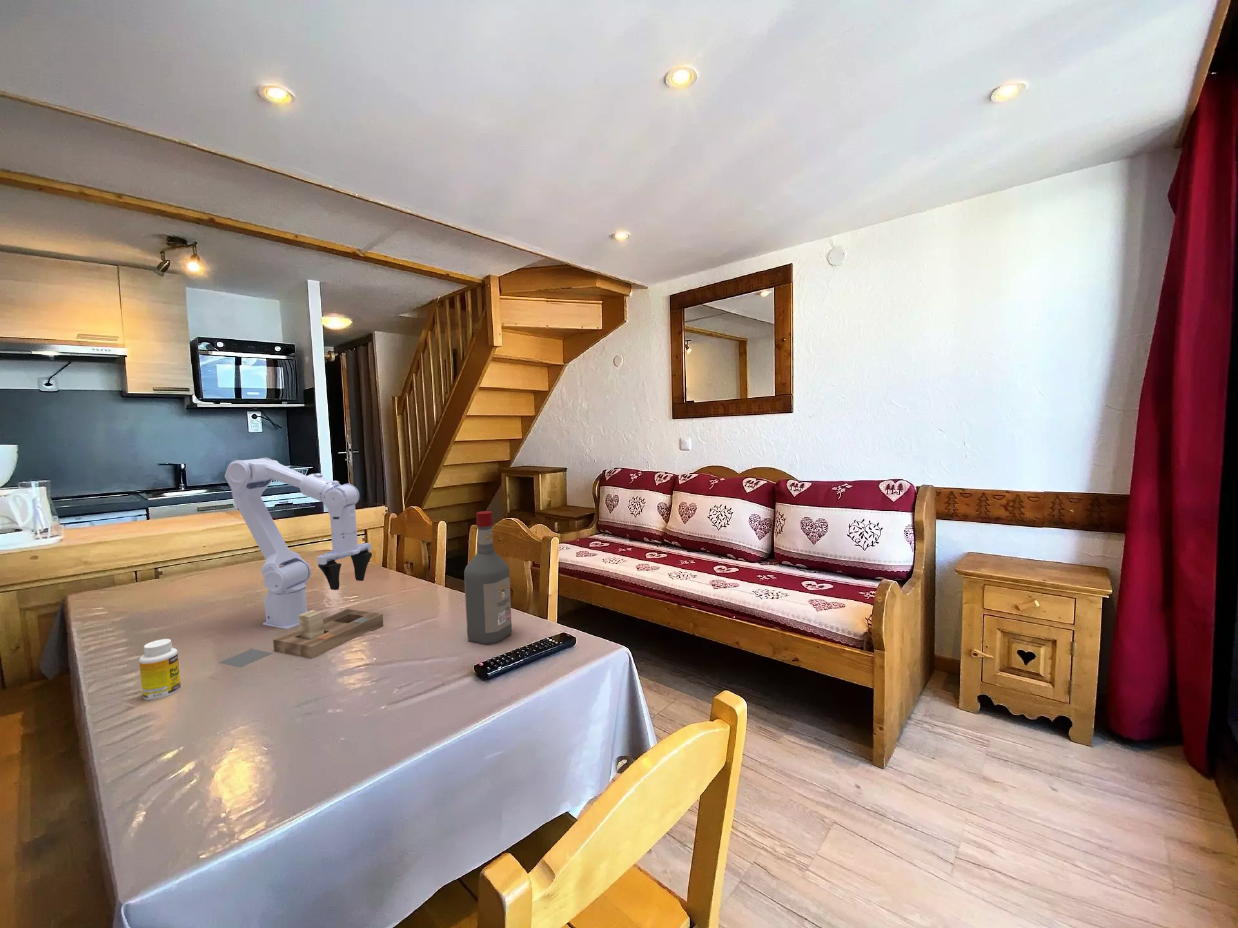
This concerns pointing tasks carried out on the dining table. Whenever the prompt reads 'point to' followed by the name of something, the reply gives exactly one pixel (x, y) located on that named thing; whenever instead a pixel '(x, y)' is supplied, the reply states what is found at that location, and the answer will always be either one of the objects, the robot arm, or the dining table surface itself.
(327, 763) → the dining table surface
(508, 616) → the liquor
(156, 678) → the supplement bottle
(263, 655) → the mat
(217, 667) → the dining table surface
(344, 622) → the socket board
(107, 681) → the dining table surface
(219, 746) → the dining table surface
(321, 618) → the birch plug
